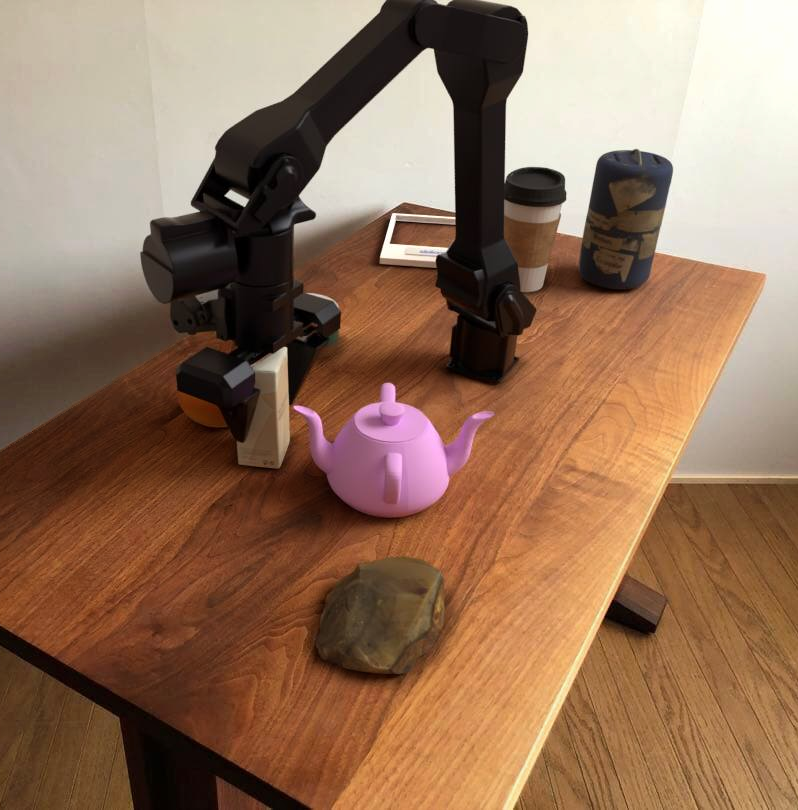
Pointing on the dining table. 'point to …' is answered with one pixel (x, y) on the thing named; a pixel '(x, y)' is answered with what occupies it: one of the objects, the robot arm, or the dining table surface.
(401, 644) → the decorative stone
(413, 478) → the teapot
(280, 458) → the box
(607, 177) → the canister
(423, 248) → the photo frame
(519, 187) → the coffee cup
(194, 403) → the fruit
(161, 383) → the dining table surface
